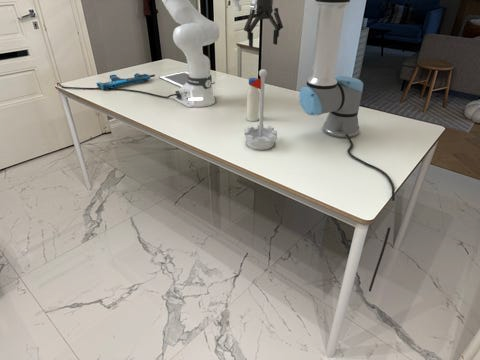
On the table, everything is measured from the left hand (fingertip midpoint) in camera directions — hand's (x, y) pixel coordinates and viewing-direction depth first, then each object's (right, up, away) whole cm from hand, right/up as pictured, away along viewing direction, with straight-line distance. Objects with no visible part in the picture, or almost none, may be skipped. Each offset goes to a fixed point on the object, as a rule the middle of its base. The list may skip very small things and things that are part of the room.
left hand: (245, 9), depth 137 cm
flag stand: (+6, -54, +2) cm, 55 cm away
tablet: (-36, -7, +75) cm, 84 cm away
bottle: (+4, -40, +24) cm, 47 cm away
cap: (+4, -24, +14) cm, 28 cm away
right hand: (+9, -3, +30) cm, 31 cm away
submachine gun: (-73, -8, +73) cm, 104 cm away
